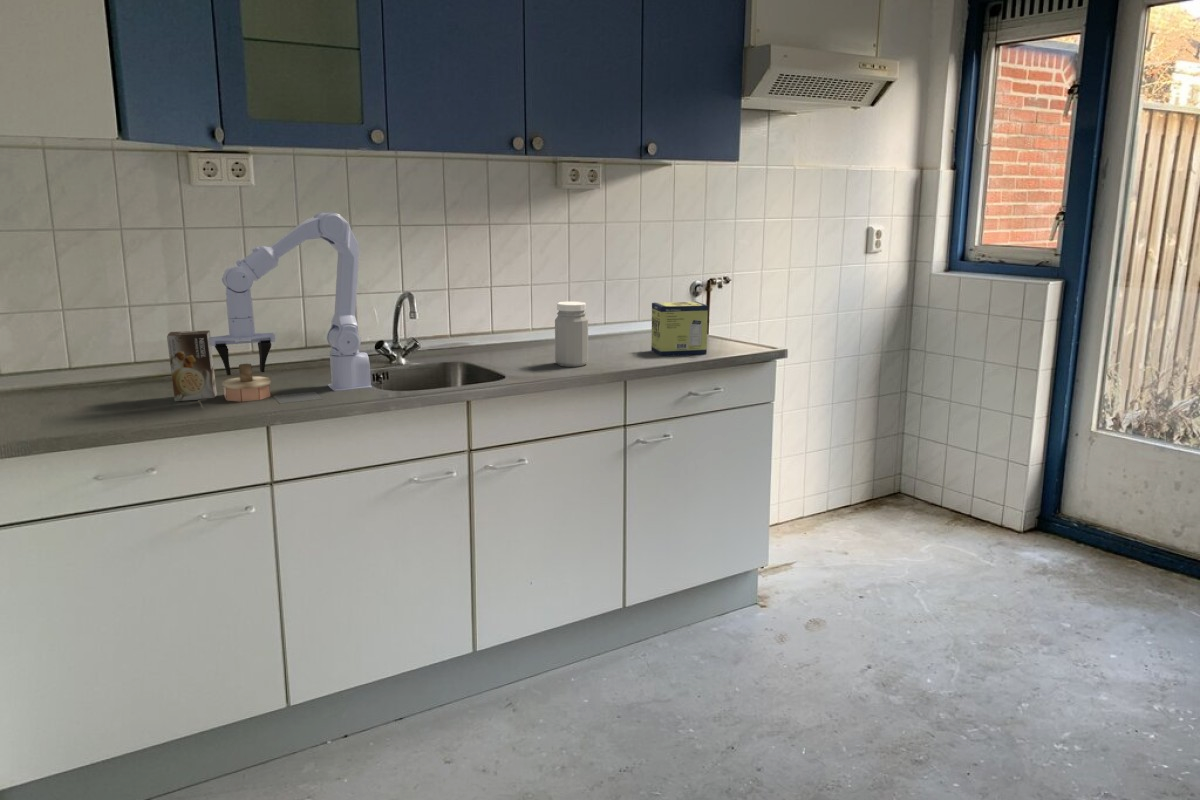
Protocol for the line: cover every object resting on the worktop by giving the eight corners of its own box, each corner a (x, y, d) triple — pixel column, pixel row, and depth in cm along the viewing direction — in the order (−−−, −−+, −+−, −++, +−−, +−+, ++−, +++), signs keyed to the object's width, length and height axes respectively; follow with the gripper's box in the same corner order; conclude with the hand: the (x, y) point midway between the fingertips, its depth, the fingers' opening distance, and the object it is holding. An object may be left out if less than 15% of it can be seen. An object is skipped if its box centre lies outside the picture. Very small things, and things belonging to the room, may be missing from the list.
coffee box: (217, 393, 222) (211, 329, 219) (214, 399, 216) (208, 333, 213) (177, 396, 220) (170, 331, 216) (173, 401, 214) (166, 335, 210)
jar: (548, 363, 263) (547, 302, 259) (574, 360, 269) (573, 300, 265) (569, 368, 256) (568, 305, 252) (595, 364, 262) (595, 303, 258)
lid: (264, 377, 224) (263, 359, 223) (275, 385, 215) (274, 365, 214) (218, 382, 218) (216, 363, 217) (227, 390, 209) (225, 370, 208)
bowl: (265, 392, 224) (264, 378, 224) (272, 399, 216) (271, 385, 215) (223, 396, 220) (221, 382, 219) (228, 404, 211) (227, 389, 210)
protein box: (650, 350, 286) (651, 302, 282) (696, 349, 289) (697, 301, 286) (659, 356, 276) (660, 306, 273) (707, 354, 279) (709, 304, 276)
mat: (315, 393, 223) (315, 391, 223) (323, 400, 215) (323, 398, 215) (273, 397, 218) (273, 396, 218) (279, 405, 211) (279, 403, 210)
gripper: (209, 321, 206) (215, 378, 210) (275, 317, 213) (279, 373, 216) (206, 317, 213) (211, 373, 216) (270, 313, 219) (274, 368, 222)
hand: (245, 373), depth 216 cm, fingers open, 7 cm apart
